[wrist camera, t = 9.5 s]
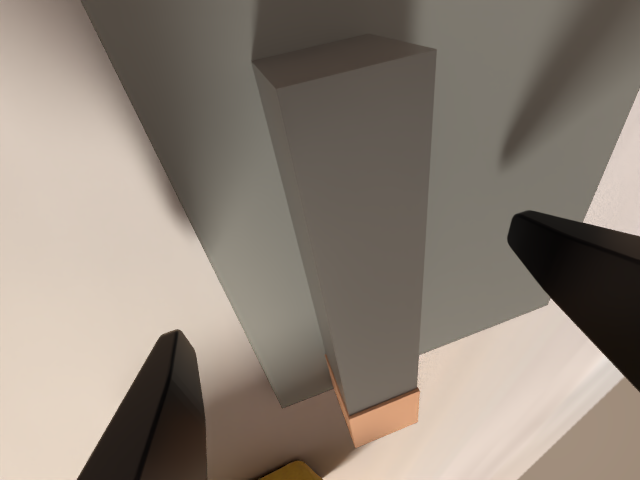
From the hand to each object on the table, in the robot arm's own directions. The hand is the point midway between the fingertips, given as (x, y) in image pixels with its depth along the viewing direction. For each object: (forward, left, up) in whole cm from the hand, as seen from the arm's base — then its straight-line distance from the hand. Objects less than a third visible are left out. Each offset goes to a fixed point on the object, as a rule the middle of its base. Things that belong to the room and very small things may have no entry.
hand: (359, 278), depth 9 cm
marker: (0, +1, -1) cm, 2 cm away
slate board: (-3, 0, -2) cm, 4 cm away
